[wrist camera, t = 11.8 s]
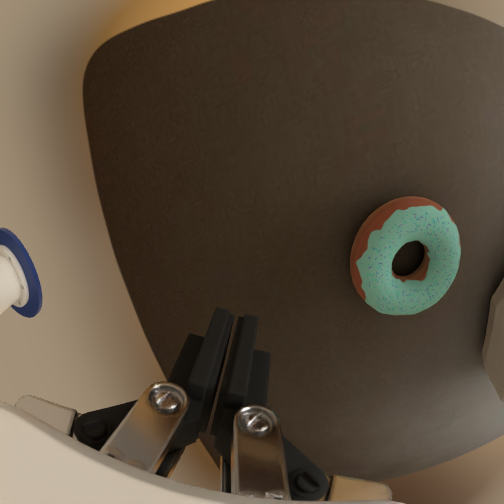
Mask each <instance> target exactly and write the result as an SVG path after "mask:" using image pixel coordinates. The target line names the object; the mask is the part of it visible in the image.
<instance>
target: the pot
mask: <svg viewBox="0 0 504 504" xmlns="http://www.w3.org/2000/svg"><path fill="white" fill-rule="evenodd" d="M482 358H483V365H484V369H485V371H486V372H487V374H488V376H489V378H490V380H491V382H492V383H493V385H494V387H495V389H496V391H497V393H498V395H499V397H500V399H501V400H502V401H503V402H504V278H503V280H502V282H501V283H500V285H499V287H498V288H497V290H496V291H495V293H494V294H493V296H492V298H491V302H490V310H489V317H488V324H487V330H486V335H485V340H484V345H483V350H482Z"/></svg>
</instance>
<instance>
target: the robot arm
mask: <svg viewBox="0 0 504 504" xmlns="http://www.w3.org/2000/svg"><path fill="white" fill-rule="evenodd" d="M28 299H29V290H28V284H27V281H26V277H25V275H24V272H23V270H22V267H21V265H20V264H19V262H18V260H17V258H16V257H15V255H14V254H13V253H12V252H11V251H10V250H9V249H8V248H7V247H6V246H4V245H0V314H1V313H2V312H4V311H5V310H6V309H7V308H9V307H10V306H11V305H12V304H13V305H15V306H17V307H23V306H24V305H25V304H26V303H27V302H28ZM233 320H234V315H232V314H230V310H227V309H223V308H219V307H216V310H215V312H214V315H213V317H212V320H211V322H210V325H209V328H208V330H207V333H206V335H205V337H201V336H197V335H194V334H189V335H188V337H187V339H186V342H185V344H184V346H183V348H182V350H181V352H180V355H179V357H178V359H177V361H176V363H175V366H174V368H173V370H172V372H171V374H170V377H169V379H168V381H167V382H164V381H163V382H157V383H154V384H152V385H150V386H149V387H148V388H147V389H146V390H145V392H144V393H143V394H142V396H141V397H140V398H139V399H138V400H135V401H132V402H128V403H124V404H120V405H116V406H112V407H109V408H104V409H100V410H96V411H92V412H88V413H85V414H81V413H77V411H76V410H74V409H71V408H67V407H64V406H61V405H58V404H55V403H52V402H49V401H46V400H44V399H41V398H38V397H35V396H31V395H26V396H22V397H21V398H20V399H18V401H17V402H16V404H15V406H13V405H10V404H8V403H5V402H0V504H404V503H400V502H394V501H392V491H391V489H390V488H389V487H388V486H387V485H386V484H385V483H381V482H377V481H369V480H363V479H356V478H351V477H345V476H340V475H335V474H334V475H333V476H329V475H325V474H324V472H323V471H322V470H321V469H319V468H318V467H317V466H316V465H315V464H314V463H312V462H311V461H310V460H309V459H308V458H307V457H306V456H305V455H304V454H302V453H301V452H300V451H299V450H298V449H297V448H296V447H295V446H294V445H293V444H292V443H291V442H290V441H288V440H287V439H286V438H285V437H284V436H283V435H282V431H281V424H280V420H279V417H278V416H277V414H276V413H275V412H274V411H273V410H272V409H270V408H269V407H267V406H266V404H267V393H268V381H269V368H270V353H268V352H264V351H259V350H254V344H255V338H256V331H257V324H258V317H256V316H252V315H248V314H245V316H244V317H240V316H239V317H238V321H237V325H236V329H235V333H234V337H233V341H232V345H231V349H230V353H229V357H228V361H227V365H226V369H225V373H224V377H223V381H222V385H221V389H220V393H219V398H218V402H217V406H216V411H215V415H214V419H213V424H212V428H211V432H210V435H214V436H216V437H215V441H214V448H215V449H216V450H217V451H218V452H219V454H220V455H221V458H220V492H219V491H214V490H209V489H205V488H201V487H197V486H192V485H188V484H185V483H181V482H178V481H174V480H171V479H169V478H170V476H171V474H172V472H173V470H174V468H175V467H176V465H177V463H178V461H179V459H180V457H181V455H182V454H183V451H184V450H185V447H186V446H187V445H190V444H192V443H194V442H196V440H197V439H198V437H199V434H200V432H202V433H206V429H207V426H208V422H209V418H210V414H211V410H212V407H213V403H214V399H215V395H216V392H217V388H218V384H219V380H220V376H221V373H222V369H223V365H224V361H225V356H226V352H227V347H228V342H229V338H230V333H231V329H232V324H233Z"/></svg>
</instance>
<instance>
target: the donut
mask: <svg viewBox="0 0 504 504" xmlns="http://www.w3.org/2000/svg"><path fill="white" fill-rule="evenodd" d="M414 240H417V241H420V242H421V243H422V244H423V246H424V250H425V254H424V259H423V261H422V263H421V265H420V266H419V267H418V269H417V270H415V271H414V272H413V273H411V274H409V275H406V276H399V275H396V274H394V272H393V271H392V260H393V258H394V256H395V254H396V253H397V251H398V250H399V249H400V248H401V247H402V246H403V245H404V244H405V243H407V242H411V241H414ZM460 255H461V246H460V237H459V233H458V229H457V227H456V225H455V223H454V221H453V219H452V218H451V216H450V215H449V214H448V213H447V211H446V210H445V209H444V208H443V207H441V206H440V205H439V204H437V203H436V202H434V201H432V200H429V199H427V198H423V197H417V196H409V197H400V198H397V199H394V200H391V201H389V202H387V203H385V204H384V205H382V206H380V207H379V208H377V209H376V210H375V211H374V212H373V213H372V214H370V215H369V217H368V218H367V219H366V220H365V222H364V223H363V224H362V226H361V228H360V229H359V231H358V233H357V235H356V237H355V240H354V243H353V246H352V250H351V257H350V272H351V277H352V281H353V284H354V286H355V288H356V290H357V292H358V294H359V295H360V296H361V297H362V299H363V300H364V301H365V302H366V303H367V304H368V305H369V306H371V307H372V308H373V309H375V310H377V311H378V312H380V313H384V314H389V315H412V314H416V313H419V312H421V311H423V310H425V309H427V308H429V307H431V306H432V305H434V304H435V303H436V302H438V301H439V300H440V299H441V297H442V296H443V295H444V294H445V293H446V292H447V290H448V289H449V287H450V286H451V284H452V282H453V280H454V278H455V276H456V273H457V271H458V268H459V262H460Z"/></svg>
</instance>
